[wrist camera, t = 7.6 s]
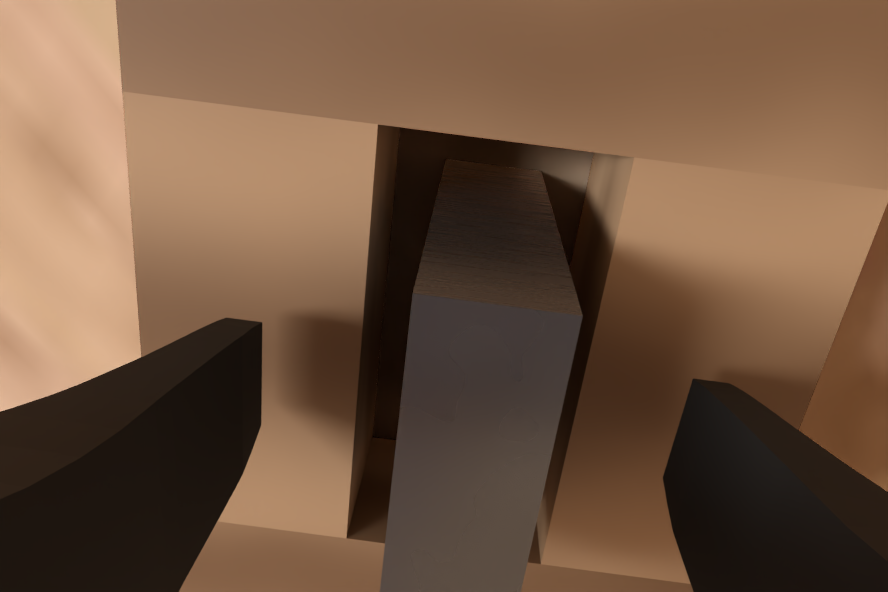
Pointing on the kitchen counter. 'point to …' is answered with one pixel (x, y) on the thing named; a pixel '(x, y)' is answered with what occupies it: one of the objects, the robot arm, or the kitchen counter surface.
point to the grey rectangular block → (480, 384)
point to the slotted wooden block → (594, 258)
